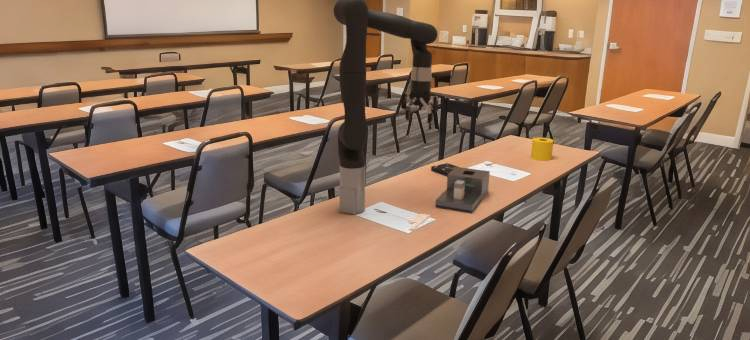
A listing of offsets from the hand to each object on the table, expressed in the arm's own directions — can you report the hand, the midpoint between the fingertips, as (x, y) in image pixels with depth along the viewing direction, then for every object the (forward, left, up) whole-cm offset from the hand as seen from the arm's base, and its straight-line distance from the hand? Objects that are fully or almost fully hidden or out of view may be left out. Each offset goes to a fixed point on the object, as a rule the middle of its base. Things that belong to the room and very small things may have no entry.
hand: (418, 121), depth 209 cm
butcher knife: (-25, -9, -31) cm, 41 cm away
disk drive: (+37, -3, -31) cm, 48 cm away
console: (+6, -18, -30) cm, 36 cm away
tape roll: (+82, -37, -31) cm, 95 cm away
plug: (-1, -18, -29) cm, 34 cm away
